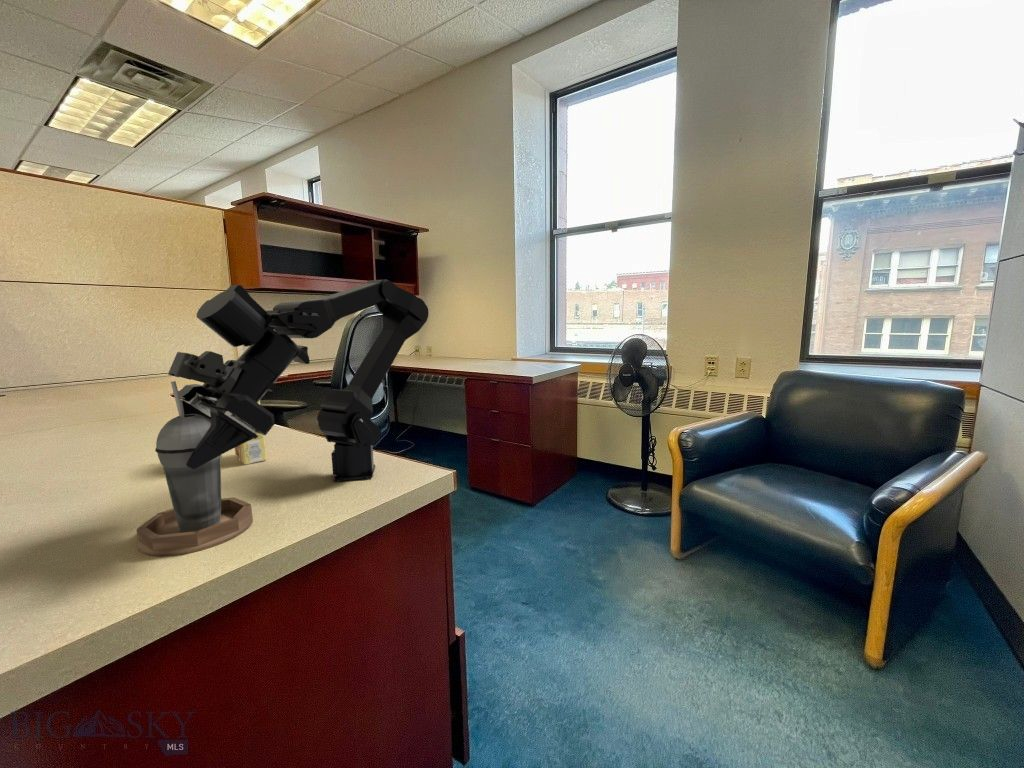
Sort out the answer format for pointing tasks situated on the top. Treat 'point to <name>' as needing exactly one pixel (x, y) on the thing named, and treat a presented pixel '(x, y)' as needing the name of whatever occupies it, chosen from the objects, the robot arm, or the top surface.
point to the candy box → (252, 450)
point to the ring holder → (167, 540)
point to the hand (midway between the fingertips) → (177, 460)
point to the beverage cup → (189, 471)
